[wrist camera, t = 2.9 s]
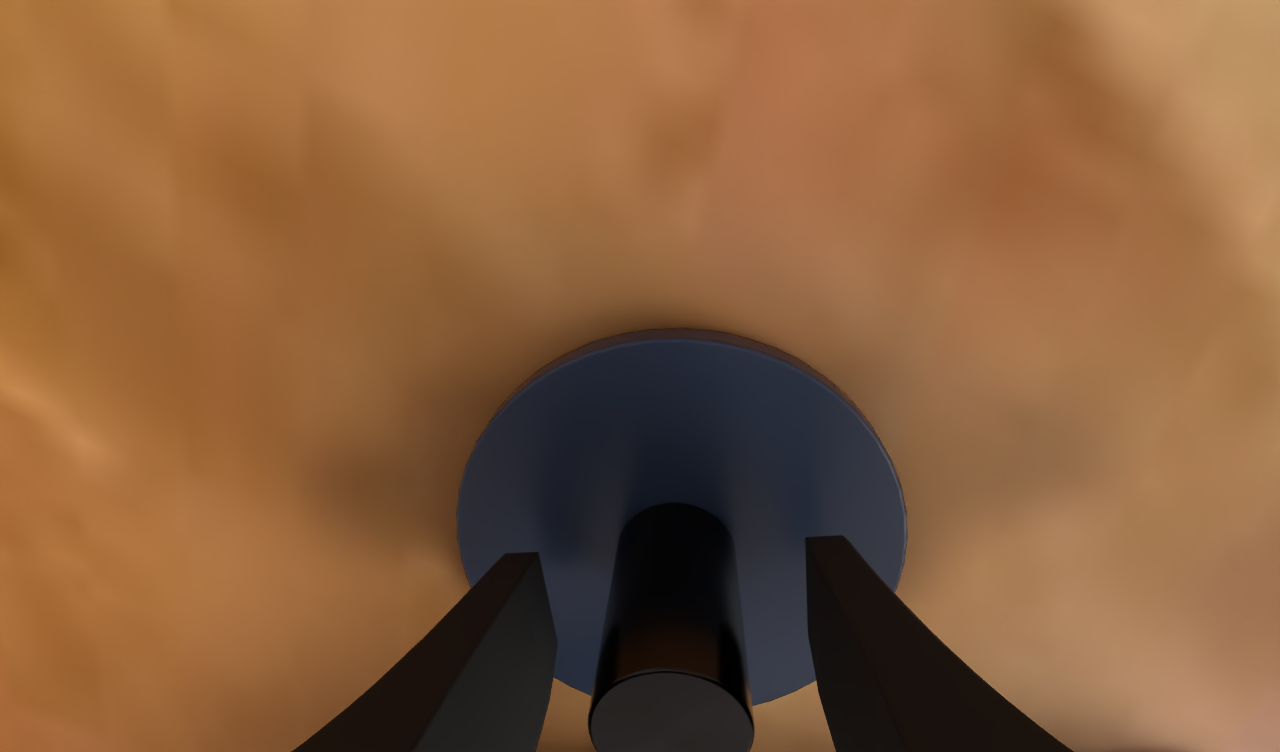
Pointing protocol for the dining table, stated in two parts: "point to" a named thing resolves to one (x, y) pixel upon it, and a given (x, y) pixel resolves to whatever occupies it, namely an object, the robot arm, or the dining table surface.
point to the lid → (678, 524)
